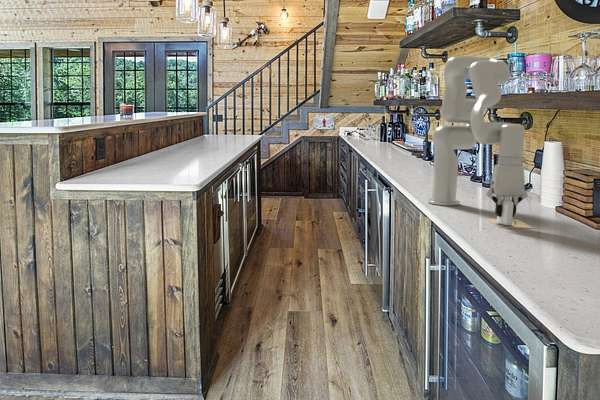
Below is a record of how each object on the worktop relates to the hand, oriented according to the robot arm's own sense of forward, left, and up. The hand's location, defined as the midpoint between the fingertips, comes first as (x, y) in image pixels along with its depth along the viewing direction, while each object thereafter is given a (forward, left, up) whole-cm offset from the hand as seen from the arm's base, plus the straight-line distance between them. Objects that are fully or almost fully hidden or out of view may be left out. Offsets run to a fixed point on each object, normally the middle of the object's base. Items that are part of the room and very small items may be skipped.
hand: (505, 215), depth 200 cm
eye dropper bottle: (0, 0, -3) cm, 3 cm away
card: (-4, +3, -4) cm, 6 cm away
